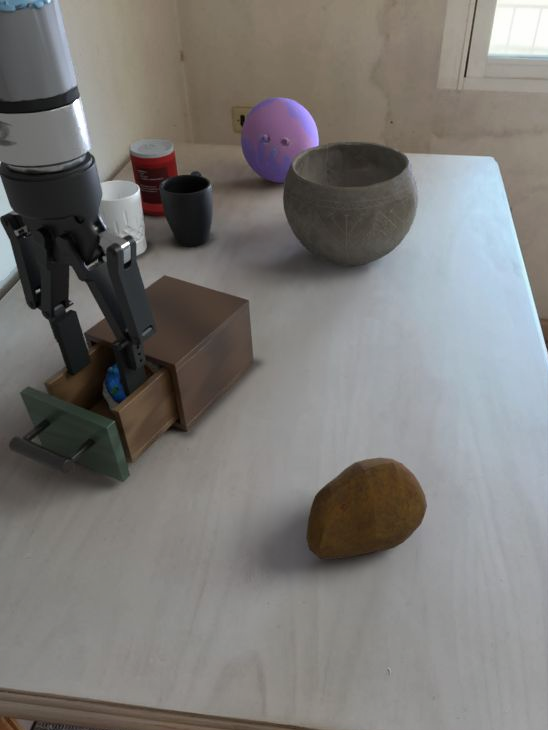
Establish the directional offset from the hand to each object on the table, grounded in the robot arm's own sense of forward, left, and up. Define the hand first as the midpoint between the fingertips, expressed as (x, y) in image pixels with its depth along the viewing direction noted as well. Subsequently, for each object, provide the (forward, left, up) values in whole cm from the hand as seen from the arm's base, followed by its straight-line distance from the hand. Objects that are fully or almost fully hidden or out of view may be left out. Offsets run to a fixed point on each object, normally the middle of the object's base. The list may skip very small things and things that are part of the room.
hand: (107, 378), depth 66 cm
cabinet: (0, +11, -8) cm, 14 cm away
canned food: (-34, +51, -8) cm, 62 cm away
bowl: (+4, +52, -8) cm, 53 cm away
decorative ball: (-21, +73, -8) cm, 76 cm away
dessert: (0, +3, -4) cm, 5 cm away
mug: (-22, +45, -8) cm, 51 cm away
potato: (+30, 0, -8) cm, 31 cm away
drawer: (0, -2, -7) cm, 7 cm away
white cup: (-29, +35, -8) cm, 46 cm away
